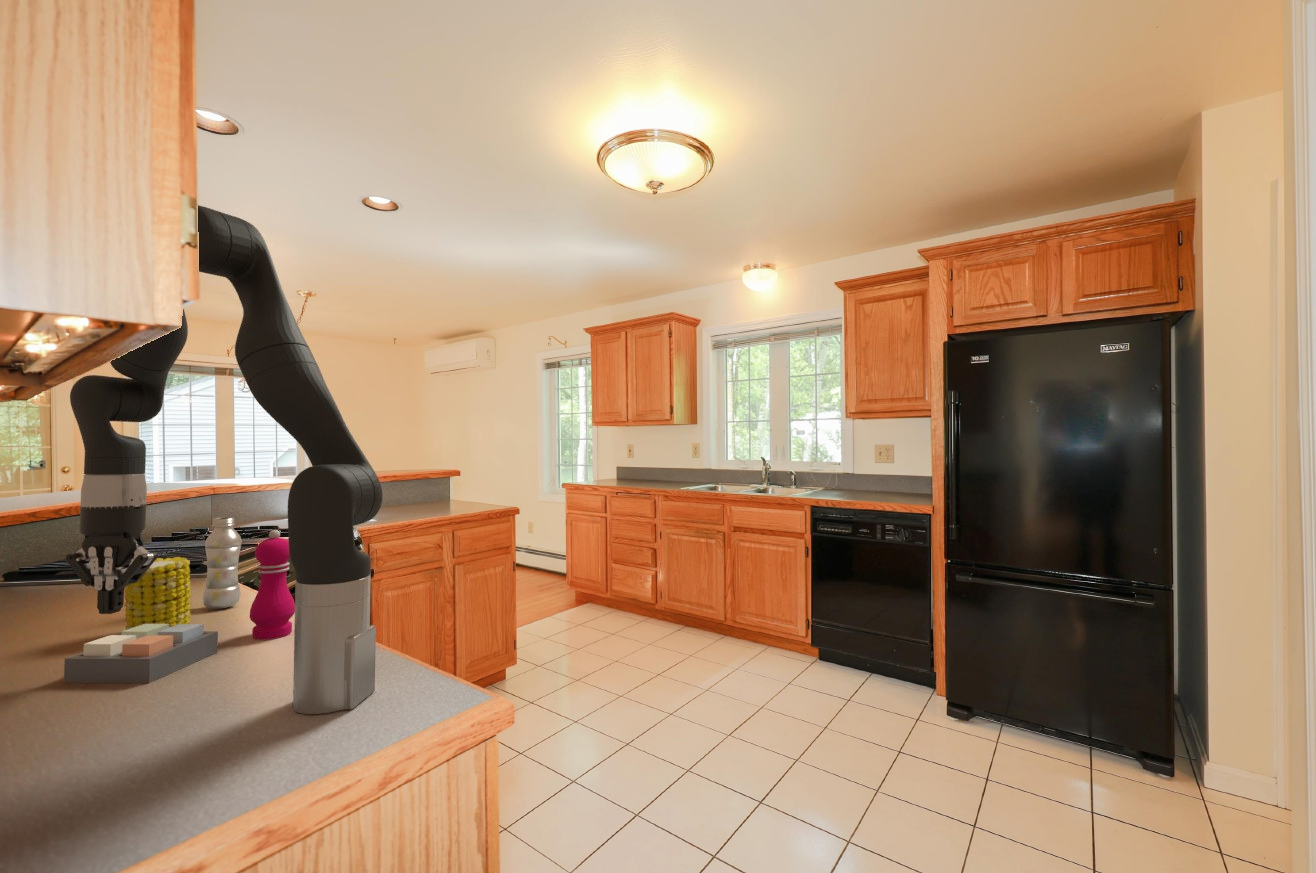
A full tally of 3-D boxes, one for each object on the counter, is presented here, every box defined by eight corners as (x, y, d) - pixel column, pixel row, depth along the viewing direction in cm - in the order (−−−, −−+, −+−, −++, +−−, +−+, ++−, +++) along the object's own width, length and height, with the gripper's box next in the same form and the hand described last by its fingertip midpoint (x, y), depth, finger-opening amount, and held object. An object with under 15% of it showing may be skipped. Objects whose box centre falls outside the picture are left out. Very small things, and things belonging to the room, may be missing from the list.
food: (194, 629, 115) (171, 648, 105) (123, 622, 111) (93, 641, 101) (215, 556, 116) (195, 568, 106) (145, 546, 112) (118, 558, 102)
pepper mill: (303, 629, 110) (305, 527, 111) (275, 641, 103) (277, 532, 104) (269, 628, 111) (272, 526, 112) (239, 640, 104) (241, 532, 104)
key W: (168, 643, 96) (169, 623, 96) (146, 651, 92) (146, 631, 92) (144, 642, 96) (144, 623, 96) (120, 651, 92) (121, 631, 92)
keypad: (217, 652, 98) (217, 631, 98) (149, 682, 85) (149, 658, 85) (143, 651, 98) (143, 630, 98) (63, 682, 85) (64, 658, 85)
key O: (203, 643, 96) (203, 623, 96) (182, 651, 92) (182, 631, 92) (178, 643, 96) (179, 623, 96) (156, 651, 92) (157, 631, 92)
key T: (172, 655, 90) (173, 635, 90) (148, 665, 86) (149, 644, 86) (146, 655, 90) (147, 635, 90) (121, 665, 86) (122, 644, 86)
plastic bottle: (210, 605, 127) (212, 517, 128) (245, 602, 129) (247, 516, 130) (196, 612, 121) (198, 520, 122) (233, 610, 123) (235, 519, 124)
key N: (135, 655, 90) (136, 635, 90) (110, 665, 86) (110, 644, 86) (109, 655, 90) (110, 634, 90) (83, 665, 86) (83, 643, 86)
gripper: (46, 504, 85) (42, 619, 85) (133, 505, 85) (129, 620, 85) (96, 500, 93) (92, 605, 92) (176, 501, 93) (172, 606, 92)
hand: (110, 612), depth 88 cm, fingers closed
